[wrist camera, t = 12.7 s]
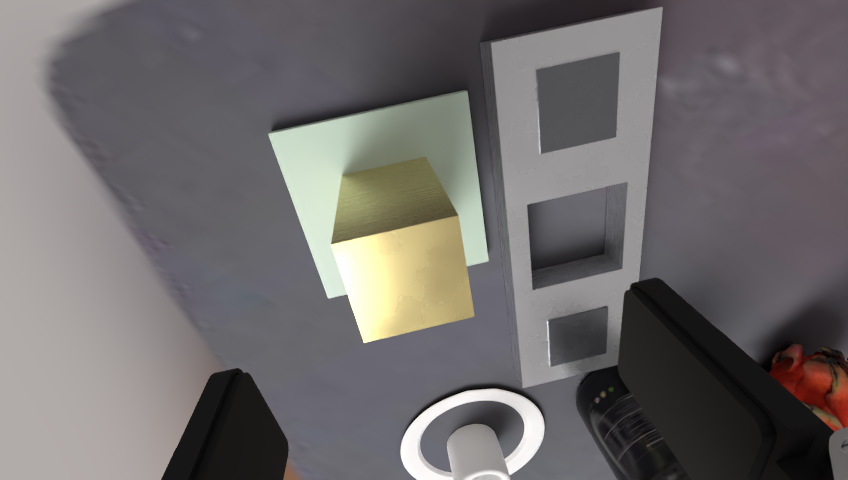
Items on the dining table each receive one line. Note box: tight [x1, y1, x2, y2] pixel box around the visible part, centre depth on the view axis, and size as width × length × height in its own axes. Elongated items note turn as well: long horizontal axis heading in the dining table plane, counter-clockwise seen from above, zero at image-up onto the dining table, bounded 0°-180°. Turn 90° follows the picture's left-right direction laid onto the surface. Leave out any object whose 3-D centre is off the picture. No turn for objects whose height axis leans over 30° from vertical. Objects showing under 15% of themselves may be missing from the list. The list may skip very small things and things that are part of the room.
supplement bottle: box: [576, 365, 692, 480], centre depth 27 cm, size 7×7×12 cm
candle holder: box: [401, 388, 545, 480], centre depth 31 cm, size 12×12×4 cm
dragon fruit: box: [769, 342, 848, 431], centre depth 31 cm, size 8×8×12 cm
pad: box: [268, 90, 488, 298], centre depth 22 cm, size 10×10×1 cm
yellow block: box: [331, 157, 474, 343], centre depth 18 cm, size 4×4×8 cm
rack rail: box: [479, 7, 663, 388], centre depth 24 cm, size 22×8×2 cm, turn 10°
